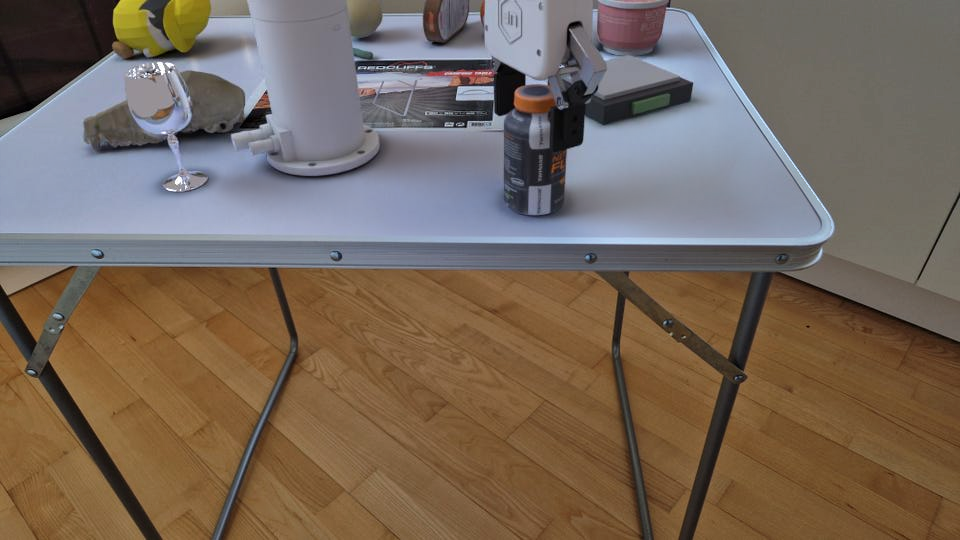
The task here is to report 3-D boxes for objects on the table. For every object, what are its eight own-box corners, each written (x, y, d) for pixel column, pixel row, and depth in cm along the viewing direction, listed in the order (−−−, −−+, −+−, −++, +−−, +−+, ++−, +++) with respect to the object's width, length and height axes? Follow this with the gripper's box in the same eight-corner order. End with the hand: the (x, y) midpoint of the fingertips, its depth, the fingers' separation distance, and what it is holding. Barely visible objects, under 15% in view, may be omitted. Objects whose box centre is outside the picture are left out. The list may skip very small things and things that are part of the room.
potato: (327, 39, 110) (319, -12, 105) (359, 27, 115) (353, -23, 111) (362, 46, 107) (355, -7, 102) (394, 33, 112) (389, -18, 107)
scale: (605, 126, 80) (607, 102, 78) (546, 93, 89) (547, 71, 87) (693, 102, 85) (697, 79, 84) (629, 73, 94) (632, 52, 93)
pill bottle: (560, 220, 63) (567, 105, 56) (498, 214, 64) (497, 101, 57) (567, 189, 68) (573, 80, 61) (509, 185, 69) (509, 77, 62)
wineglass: (195, 164, 74) (162, 56, 67) (224, 178, 71) (193, 67, 64) (146, 184, 71) (106, 73, 64) (175, 200, 68) (136, 85, 61)
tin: (456, 22, 117) (454, -30, 112) (473, 23, 116) (472, -29, 111) (422, 48, 106) (418, -8, 101) (441, 50, 105) (437, -7, 100)
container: (653, 36, 108) (660, -17, 103) (670, 57, 99) (678, 1, 94) (588, 38, 108) (591, -15, 103) (599, 60, 99) (603, 3, 94)
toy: (123, 73, 107) (209, 65, 104) (85, 13, 99) (176, 2, 96) (156, 30, 115) (236, 22, 112) (123, -28, 107) (208, -39, 105)
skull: (221, 80, 88) (255, 144, 87) (72, 120, 80) (108, 191, 78) (221, 35, 80) (260, 104, 79) (56, 74, 72) (96, 152, 70)
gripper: (445, -90, 56) (456, 107, 66) (566, -60, 44) (556, 177, 54) (521, -99, 59) (520, 91, 69) (655, -73, 47) (630, 154, 57)
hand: (536, 128), depth 61 cm, fingers open, 8 cm apart
